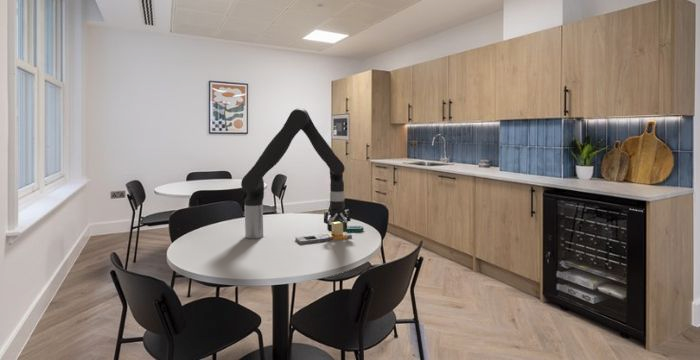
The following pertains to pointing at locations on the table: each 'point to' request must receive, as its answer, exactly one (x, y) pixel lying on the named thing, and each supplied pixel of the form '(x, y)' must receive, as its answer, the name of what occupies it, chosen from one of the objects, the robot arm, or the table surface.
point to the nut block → (337, 229)
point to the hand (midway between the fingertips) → (337, 230)
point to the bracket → (349, 227)
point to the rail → (321, 238)
